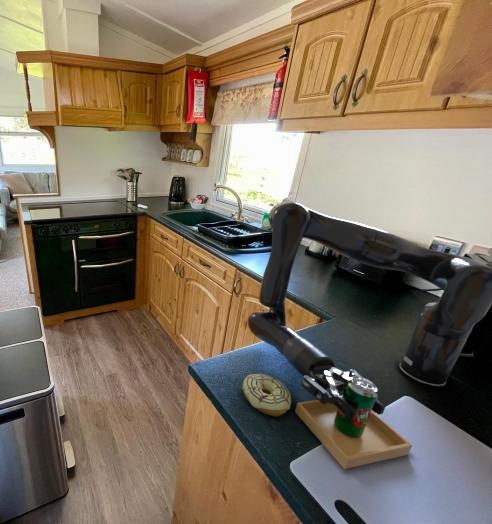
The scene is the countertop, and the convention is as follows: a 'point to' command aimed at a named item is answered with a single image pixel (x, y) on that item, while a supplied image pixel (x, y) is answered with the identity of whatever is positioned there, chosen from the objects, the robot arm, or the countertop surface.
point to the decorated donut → (267, 394)
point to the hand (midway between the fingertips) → (368, 413)
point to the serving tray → (347, 448)
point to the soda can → (357, 406)
